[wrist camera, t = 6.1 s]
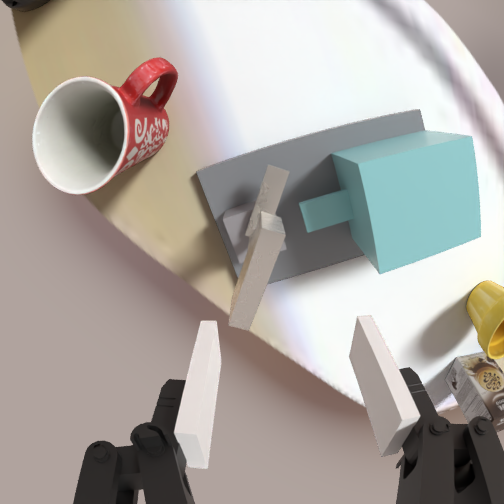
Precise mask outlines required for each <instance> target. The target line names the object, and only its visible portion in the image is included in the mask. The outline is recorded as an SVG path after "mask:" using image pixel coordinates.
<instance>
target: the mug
mask: <svg viewBox="0 0 504 504" xmlns="http://www.w3.org/2000/svg"><path fill="white" fill-rule="evenodd" d="M159 77H160V79H159V81H158V84H157V87H156V89H155V91H154V92H153V94H152V95H151V96H150V97H146V96H143V93H144V92H145V90H146V89H147V88H148V87H149V86H150V85H151V84H152V83H153V82H154V81H156V80H157V79H158V78H159ZM177 79H178V73H177V70H176V69H175V67H174V66H173V65H172V64H170V63H169V62H168V61H167V60H165V59H163V58H153V59H150V60H148V61H146V62H144V63H143V64H141V65H140V66H139V67H138V68H136V69H135V70H134V71H133V72H132V74H131V75H130V76H129V77H128V78H127V80H126V81H125V83H124V84H123V85H122V86H121V87H120V88H119V87H116V86H112V85H109V84H108V83H106V82H105V81H103V80H100V79H98V78H94V77H88V76H81V77H75V78H72V79H69V80H67V81H65V82H63V83H61V84H60V85H58V86H57V87H56V88H55V89H53V90H52V91H51V92H50V93H49V95H48V96H47V97H46V99H45V100H44V101H43V103H42V105H41V107H40V109H39V111H38V113H37V116H36V119H35V123H34V127H33V135H32V142H33V151H34V156H35V160H36V163H37V165H38V168H39V169H40V171H41V173H42V175H43V176H44V177H45V179H46V180H47V181H48V182H49V183H50V184H51V185H52V186H54V187H55V188H56V189H58V190H60V191H62V192H65V193H68V194H72V195H84V194H88V193H92V192H94V191H96V190H98V189H100V188H102V187H103V186H104V185H106V184H107V183H108V182H109V181H110V180H111V179H112V178H113V177H115V176H117V175H118V174H120V173H122V172H123V171H125V170H127V169H128V168H130V167H132V166H134V165H136V164H137V163H139V162H141V161H143V160H145V159H147V158H149V157H151V156H152V155H154V154H155V153H156V152H158V151H159V150H160V148H161V147H162V146H163V144H164V143H165V141H166V138H167V136H168V131H169V119H168V116H167V113H166V111H165V109H164V106H165V104H166V103H167V101H168V100H169V98H170V96H171V94H172V92H173V90H174V88H175V85H176V83H177Z"/></svg>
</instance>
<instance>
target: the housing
mask: <svg viewBox="0 0 504 504" xmlns="http://www.w3.org/2000/svg"><path fill="white" fill-rule="evenodd" d="M424 130H425V128H424V124H423V119H422V115H421V111H420V109H416V110H410V111H405V112H399V113H394V114H390V115H385V116H380V117H375V118H371V119H366V120H362V121H358V122H354V123H349V124H345V125H341V126H337V127H333V128H330V129H326V130H322V131H318V132H315V133H311V134H307V135H304V136H300V137H297V138H293V139H290V140H287V141H283V142H280V143H277V144H273V145H270V146H267V147H264V148H261V149H258V150H255V151H251V152H248V153H245V154H242V155H239V156H237V157H234V158H231V159H228V160H225V161H222V162H219V163H217V164H214V165H211V166H208V167H206V168H203V169H200V170H198V171H197V175H198V178H199V180H200V183H201V185H202V188H203V191H204V193H205V196H206V198H207V201H208V204H209V206H210V209H211V211H212V214H213V216H214V219H215V222H216V224H217V227H218V229H219V232H220V234H221V237H222V239H223V242H224V244H225V247H226V249H227V252H228V254H229V257H230V259H231V262H232V264H233V267H234V269H235V272H236V274H237V277H238V278H239V275H240V272H241V269H242V266H243V263H244V260H245V257H246V254H247V251H248V245H249V236H246V235H245V232H246V229H247V226H248V223H249V220H250V217H251V214H252V211H253V208H254V205H255V202H256V199H257V196H258V193H259V190H260V187H261V184H262V181H263V178H264V175H265V172H266V169H267V166H268V164H269V165H273V166H276V167H279V168H282V169H285V170H288V171H289V175H288V178H287V181H286V184H285V187H284V189H283V192H282V195H281V198H280V201H279V204H278V207H277V209H276V212H275V215H276V216H279V217H281V219H282V223H283V227H284V230H285V234H286V236H285V238H284V241H283V244H282V246H281V249H280V252H279V254H278V257H277V260H276V262H275V265H274V267H273V270H272V273H271V275H270V278H269V280H268V283H267V284H270V283H274V282H277V281H281V280H284V279H287V278H291V277H294V276H297V275H301V274H304V273H307V272H311V271H314V270H317V269H320V268H324V267H327V266H330V265H333V264H337V263H340V262H343V261H346V260H349V259H352V258H356V257H359V256H362V255H365V254H364V253H363V251H362V250H361V249H360V248H359V246H358V245H357V244H356V243H355V241H354V240H353V239H352V235H351V231H350V226H349V222H348V221H345V222H341V223H338V224H335V225H332V226H328V227H325V228H322V229H319V230H315V231H312V232H309V233H308V232H307V230H306V227H305V223H304V220H303V216H302V213H301V210H300V206H299V203H300V202H303V201H306V200H310V199H313V198H316V197H320V196H323V195H326V194H330V193H333V192H337V191H340V190H341V189H340V185H339V181H338V177H337V173H336V170H335V166H334V162H333V159H332V155H331V153H334V152H337V151H341V150H345V149H349V148H352V147H356V146H360V145H364V144H368V143H372V142H376V141H380V140H384V139H389V138H393V137H397V136H402V135H406V134H410V133H415V132H420V131H424Z"/></svg>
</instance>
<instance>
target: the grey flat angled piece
mask: <svg viewBox="0 0 504 504" xmlns="http://www.w3.org/2000/svg"><path fill="white" fill-rule="evenodd" d="M288 175H289V171H288V170H285V169H282V168H279V167H276V166H273V165H269V164H268V166H267V169H266V172H265V175H264V178H263V181H262V184H261V187H260V190H259V193H258V196H257V199H256V202H255V205H254V208H253V211H252V214H251V217H250V220H249V223H248V226H247V229H246V232H245V235H246V236H249V245H248V251H247V254H246V257H245V260H244V263H243V266H242V269H241V272H240V275H239V278H238V281H237V284H236V287H235V290H234V293H233V296H232V301H231V309H230V317H229V324H228V325H229V326H233V327H237V328H240V329H244V330H248V331H249V329H250V327H251V324H252V321H253V319H254V316H255V314H256V311H257V309H258V306H259V304H260V301H261V299H262V296H263V293H264V291H265V288H266V286H267V283H268V280H269V278H270V275H271V273H272V270H273V267H274V265H275V262H276V260H277V257H278V254H279V252H280V249H281V246H282V244H283V241H284V238H285V236H286V234H285V230H284V227H283V223H282V219H281V217H279V216H276V215H275V212H276V209H277V207H278V204H279V201H280V198H281V195H282V192H283V189H284V187H285V184H286V181H287V178H288Z"/></svg>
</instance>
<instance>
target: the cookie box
mask: <svg viewBox="0 0 504 504" xmlns="http://www.w3.org/2000/svg"><path fill="white" fill-rule="evenodd" d="M445 381H446V383H447V384H448V386H449V388H450V390H451V391H452V393H453V395H454V397H455V399H456V401H457V402H458V404H459V406H460V408H461V410H462V412H463V414H464V416H465V418H466V420H467V422H468V424H469V422H470V421H471V420H472V419H473V418H474V417H477V416H483V417H486V418H488V419H489V420H490V421H491V422H492V424H493V426H494V428H495V431H496V433H497V432H499V431H501V430H503V429H504V373H503V371H502V370H501V369H500V367H499V366H498V365H497V363H496V362H495V361H494V359H491V358H489V357H488V356H487V355H486V353H485V352H480V353H476V354H471V355H466V356H461V357H456V359H455V361H454V363H453V365H452V367H451V369H450V371H449V373H448V375H447V377H446V379H445Z"/></svg>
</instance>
